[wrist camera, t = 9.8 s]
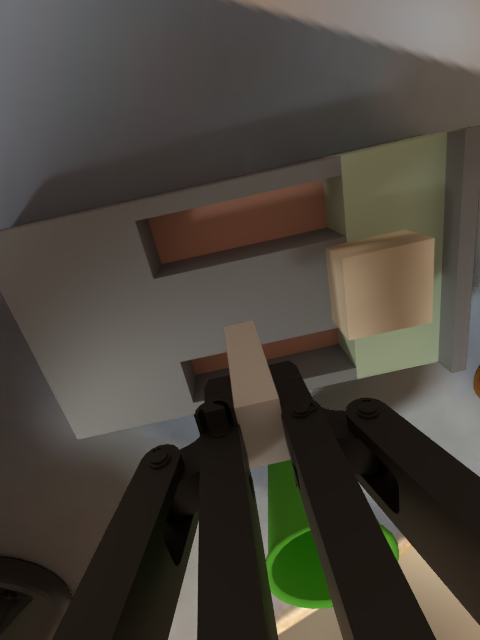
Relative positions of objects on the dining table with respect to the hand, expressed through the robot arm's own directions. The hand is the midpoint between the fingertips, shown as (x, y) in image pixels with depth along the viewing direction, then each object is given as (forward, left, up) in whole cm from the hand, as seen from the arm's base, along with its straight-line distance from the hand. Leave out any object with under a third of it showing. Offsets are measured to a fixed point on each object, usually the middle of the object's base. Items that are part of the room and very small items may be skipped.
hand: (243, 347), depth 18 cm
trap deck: (0, 0, -9) cm, 9 cm away
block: (+9, 0, -5) cm, 10 cm away
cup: (+2, -16, -9) cm, 19 cm away
